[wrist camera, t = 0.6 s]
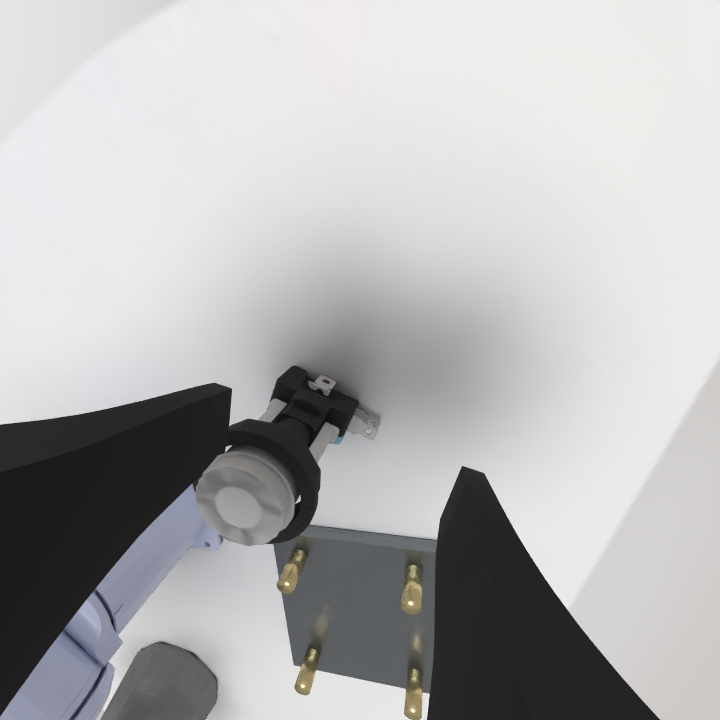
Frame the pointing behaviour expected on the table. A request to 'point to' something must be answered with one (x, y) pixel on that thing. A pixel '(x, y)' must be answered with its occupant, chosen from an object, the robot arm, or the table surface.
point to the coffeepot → (164, 687)
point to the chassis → (360, 608)
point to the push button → (277, 462)
